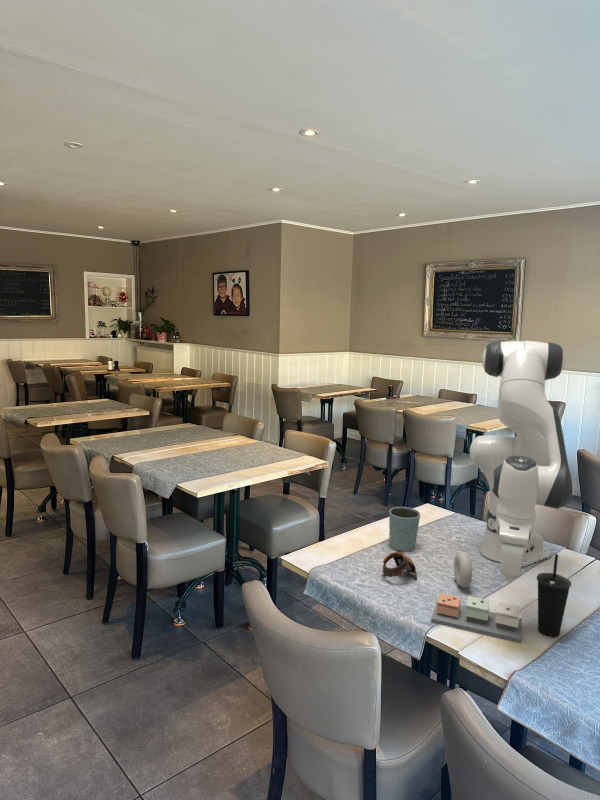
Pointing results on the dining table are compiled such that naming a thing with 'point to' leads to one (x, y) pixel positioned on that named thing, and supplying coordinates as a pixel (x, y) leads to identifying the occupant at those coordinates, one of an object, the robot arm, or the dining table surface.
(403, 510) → the green cylindrical pot
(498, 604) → the cream tile
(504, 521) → the robot arm
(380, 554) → the dining table surface
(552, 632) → the drinking cup
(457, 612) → the terracotta tile
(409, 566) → the brown rounded piece
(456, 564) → the donut
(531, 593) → the dining table surface
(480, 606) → the sage tile
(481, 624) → the board
